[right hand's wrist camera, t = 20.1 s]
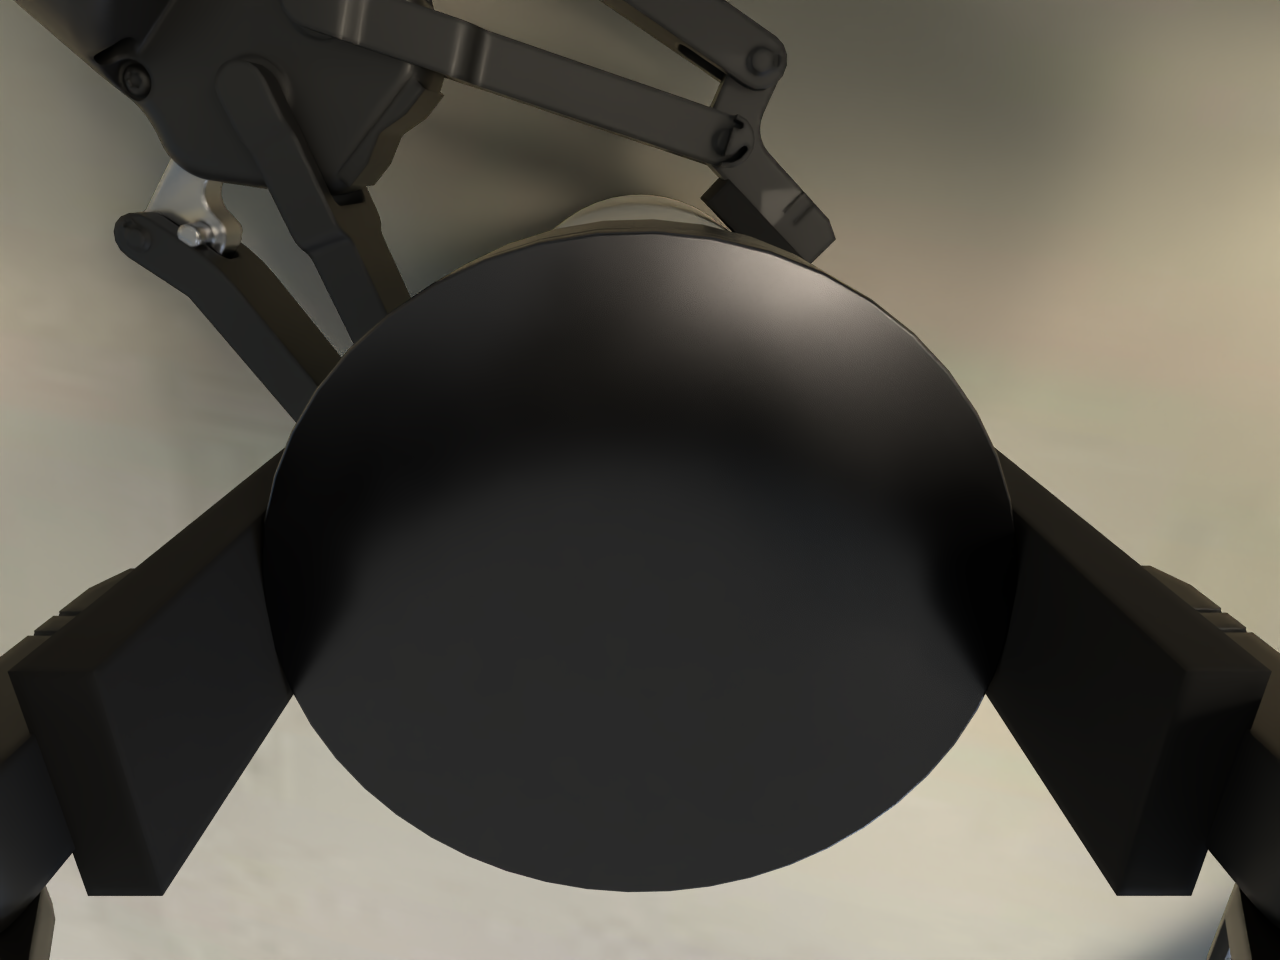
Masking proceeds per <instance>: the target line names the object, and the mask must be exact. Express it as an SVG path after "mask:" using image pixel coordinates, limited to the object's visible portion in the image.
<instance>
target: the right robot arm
mask: <svg viewBox="0 0 1280 960" xmlns="http://www.w3.org/2000/svg"><path fill="white" fill-rule="evenodd" d="M284 449H285V448H284ZM284 449H283V450H281V451H280V452H279V453H278V454H276V455H275V456H274V457H273V458H271V459H270V460H269V461H268V462H266V463H265V464H264V465H263V466H261V467H260V468H259V469H258V470H257V471H255V472H254V473H253V474H252V475H250V476H249V477H248V478H247V479H245V480H244V481H243V482H242V483H240V484H239V485H238V486H237V487H235V488H234V489H233V490H232V491H230V492H229V493H228V494H227V495H226V496H224V497H223V498H222V499H221V500H219V501H218V502H217V503H216V504H214V505H213V506H212V507H211V508H209V509H208V510H207V511H206V512H204V513H203V514H202V515H201V516H199V517H198V518H197V519H196V520H195V521H193V522H192V523H191V524H190V525H188V526H187V527H186V528H185V529H183V530H182V531H181V532H180V533H178V534H177V535H176V536H175V537H173V538H172V539H171V540H170V541H168V542H167V543H166V544H165V545H164V546H162V547H161V548H160V549H159V550H157V551H156V552H155V553H154V554H152V555H151V556H150V557H149V558H147V559H146V560H145V561H144V562H142V563H141V564H140V565H139V566H138V567H136V568H135V569H128V570H126V571H124V572H122V573H120V574H118V575H116V576H114V577H112V578H109V579H107V580H105V581H103V582H101V583H99V584H97V585H95V586H93V587H91V588H89V589H88V590H86V591H85V592H84V593H82V594H81V595H80V596H78V597H77V598H76V599H75V600H73V601H72V602H71V603H69V604H68V605H67V606H66V607H64V608H63V609H62V610H60V611H59V613H60V614H59V616H53V617H51V618H50V619H49V620H48V621H46V622H45V623H44V624H42V625H41V626H40V627H38V628H37V629H36V630H35V631H34V632H35V633H34V636H27V637H26V638H24V639H23V640H22V641H20V642H19V643H18V644H17V645H15V646H14V647H13V648H11V649H10V650H9V651H8V652H6V653H5V654H4V655H2V656H1V657H0V960H49V957H50V951H51V944H52V938H53V931H54V924H55V915H54V909H53V904H52V901H51V898H50V896H49V893H48V890H47V888H46V884H47V883H48V882H49V881H50V879H51V878H52V877H53V876H54V874H55V873H56V872H57V871H58V870H59V868H60V867H61V866H62V865H63V863H64V862H65V861H66V860H67V859H68V857H69V856H70V855H71V854H72V853H73V855H74V858H75V861H76V864H77V866H78V869H79V872H80V875H81V878H82V880H83V883H84V886H85V889H86V891H87V894H88V896H163V894H164V893H165V891H166V890H167V888H168V887H169V885H170V884H171V882H172V881H173V879H174V878H175V876H176V874H177V873H178V871H179V870H180V868H181V867H182V865H183V864H184V862H185V861H186V859H187V857H188V856H189V854H190V853H191V851H192V850H193V848H194V847H195V845H196V844H197V842H198V841H199V839H200V837H201V836H202V834H203V833H204V831H205V830H206V828H207V827H208V825H209V824H210V822H211V821H212V819H213V817H214V816H215V814H216V813H217V811H218V810H219V808H220V807H221V805H222V804H223V802H224V801H225V799H226V797H227V796H228V794H229V793H230V791H231V790H232V788H233V787H234V785H235V784H236V782H237V781H238V779H239V777H240V776H241V774H242V773H243V771H244V770H245V768H246V767H247V765H248V764H249V762H250V760H251V759H252V757H253V756H254V754H255V753H256V751H257V750H258V748H259V747H260V745H261V744H262V742H263V740H264V739H265V737H266V736H267V734H268V733H269V731H270V730H271V728H272V727H273V725H274V724H275V722H276V720H277V719H278V717H279V716H280V714H281V713H282V711H283V710H284V708H285V707H286V705H287V704H288V702H289V700H290V699H291V697H292V696H293V692H292V690H291V688H290V686H289V683H288V681H287V678H286V676H285V673H284V671H283V668H282V666H281V663H280V660H279V658H278V655H277V653H276V650H275V646H274V641H273V636H272V632H271V627H270V622H269V617H268V613H267V608H266V602H265V597H264V587H263V576H262V550H263V535H264V519H265V515H266V510H267V506H268V501H269V497H270V492H271V488H272V483H273V479H274V475H275V472H276V470H277V467H278V464H279V462H280V459H281V457H282V454H283V452H284ZM994 449H995V451H996V453H997V455H998V458H999V461H1000V465H1001V468H1002V471H1003V475H1004V478H1005V481H1006V485H1007V488H1008V492H1009V495H1010V498H1011V504H1012V511H1013V519H1014V526H1015V534H1016V541H1017V570H1016V593H1015V599H1014V605H1013V610H1012V615H1011V620H1010V625H1009V630H1008V635H1007V639H1006V642H1005V645H1004V648H1003V651H1002V655H1001V658H1000V661H999V664H998V667H997V670H996V673H995V675H994V677H993V679H992V681H991V683H990V685H989V687H988V689H987V691H986V695H987V697H988V698H989V700H990V701H991V703H992V704H993V706H994V707H995V709H996V710H997V712H998V713H999V715H1000V717H1001V718H1002V720H1003V721H1004V723H1005V724H1006V726H1007V727H1008V729H1009V730H1010V732H1011V734H1012V735H1013V737H1014V738H1015V740H1016V741H1017V743H1018V744H1019V746H1020V747H1021V749H1022V750H1023V752H1024V754H1025V755H1026V757H1027V758H1028V760H1029V761H1030V763H1031V764H1032V766H1033V767H1034V769H1035V770H1036V772H1037V774H1038V775H1039V777H1040V778H1041V780H1042V781H1043V783H1044V784H1045V786H1046V787H1047V789H1048V791H1049V792H1050V794H1051V795H1052V797H1053V798H1054V800H1055V801H1056V803H1057V804H1058V806H1059V807H1060V809H1061V811H1062V812H1063V814H1064V815H1065V817H1066V818H1067V820H1068V821H1069V823H1070V824H1071V826H1072V827H1073V829H1074V831H1075V832H1076V834H1077V835H1078V837H1079V838H1080V840H1081V841H1082V843H1083V844H1084V846H1085V847H1086V849H1087V851H1088V852H1089V854H1090V855H1091V857H1092V858H1093V860H1094V861H1095V863H1096V864H1097V866H1098V868H1099V869H1100V871H1101V872H1102V874H1103V875H1104V877H1105V878H1106V880H1107V881H1108V883H1109V884H1110V886H1111V888H1112V889H1113V891H1114V892H1115V894H1116V895H1117V896H1191V895H1192V892H1193V890H1194V887H1195V884H1196V881H1197V879H1198V876H1199V873H1200V870H1201V867H1202V865H1203V862H1204V859H1205V856H1206V853H1207V851H1208V850H1209V851H1210V852H1211V854H1212V855H1213V856H1214V857H1215V858H1216V860H1217V861H1218V862H1219V863H1220V864H1221V866H1222V867H1223V868H1224V869H1225V870H1226V872H1227V873H1228V874H1229V875H1230V877H1231V878H1232V879H1233V880H1234V881H1235V885H1234V888H1233V890H1232V893H1231V896H1230V898H1229V901H1228V903H1227V906H1226V909H1225V911H1224V914H1223V916H1222V919H1221V922H1220V924H1219V927H1218V929H1217V932H1216V935H1215V937H1214V940H1213V942H1212V945H1211V948H1210V950H1209V953H1208V955H1207V960H1227V959H1229V958H1231V960H1280V653H1278V652H1277V651H1276V650H1275V649H1273V648H1272V647H1271V646H1269V645H1268V644H1267V643H1265V642H1264V641H1263V640H1262V639H1260V638H1259V637H1258V636H1256V635H1255V634H1254V633H1247V632H1246V627H1245V626H1243V625H1242V624H1241V623H1239V622H1238V621H1237V620H1236V619H1234V618H1233V617H1232V616H1230V615H1229V614H1228V613H1221V608H1220V607H1219V606H1217V605H1216V604H1215V603H1213V602H1212V601H1211V600H1210V599H1208V598H1207V597H1206V596H1204V595H1203V594H1202V593H1200V592H1199V591H1198V590H1197V589H1195V588H1194V587H1193V586H1191V585H1189V584H1187V583H1185V582H1183V581H1181V580H1179V579H1177V578H1175V577H1173V576H1171V575H1168V574H1166V573H1164V572H1162V571H1160V570H1158V569H1156V568H1154V567H1152V566H1141V565H1139V564H1138V563H1137V562H1136V561H1135V560H1133V559H1132V558H1131V557H1130V556H1128V555H1127V554H1126V553H1125V552H1123V551H1122V550H1121V549H1120V548H1118V547H1117V546H1116V545H1115V544H1113V543H1112V542H1111V541H1110V540H1108V539H1107V538H1106V537H1105V536H1104V535H1102V534H1101V533H1100V532H1099V531H1097V530H1096V529H1095V528H1094V527H1092V526H1091V525H1090V524H1089V523H1087V522H1086V521H1085V520H1084V519H1082V518H1081V517H1080V516H1079V515H1077V514H1076V513H1075V512H1074V511H1073V510H1071V509H1070V508H1069V507H1068V506H1066V505H1065V504H1064V503H1063V502H1061V501H1060V500H1059V499H1058V498H1056V497H1055V496H1054V495H1053V494H1051V493H1050V492H1049V491H1048V490H1047V489H1045V488H1044V487H1043V486H1042V485H1040V484H1039V483H1038V482H1037V481H1035V480H1034V479H1033V478H1032V477H1030V476H1029V475H1028V474H1027V473H1025V472H1024V471H1023V470H1022V469H1020V468H1019V467H1018V466H1017V465H1016V464H1014V463H1013V462H1012V461H1011V460H1009V459H1008V458H1007V457H1006V456H1004V455H1003V454H1002V453H1001V452H999V451H998V450H997V449H996V448H994Z"/></svg>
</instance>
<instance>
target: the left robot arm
mask: <svg viewBox="0 0 1280 960" xmlns="http://www.w3.org/2000/svg"><path fill="white" fill-rule="evenodd" d="M14 1H15V2H16V3H17V4H18V5H20V6H21V7H22V8H23V9H24V10H25V11H27V12H28V13H29V14H30V15H31V16H32V17H33V18H35V19H36V20H37V21H38V22H39V23H40V24H42V25H43V26H44V27H45V28H46V29H47V30H49V31H50V32H51V33H52V34H53V35H54V36H55V37H57V38H58V39H59V40H60V41H61V42H62V43H64V44H65V45H66V46H67V47H68V48H69V49H71V50H72V51H73V52H74V53H75V54H76V55H77V56H79V57H80V58H81V59H82V60H83V61H84V62H86V63H87V64H88V65H89V66H90V67H91V68H93V69H94V70H95V71H96V72H97V73H98V74H100V75H101V76H102V77H103V78H105V79H106V80H107V81H108V82H110V83H111V84H112V85H113V86H115V87H116V88H117V89H119V90H120V91H121V92H122V93H124V94H125V95H126V96H128V97H129V98H130V99H131V100H132V101H134V102H135V103H136V104H137V105H138V106H139V107H140V108H141V110H142V111H143V112H144V114H145V115H146V116H147V118H148V119H149V121H150V122H151V124H152V125H153V127H154V129H155V131H156V132H157V135H158V137H159V139H160V141H161V143H162V145H163V147H164V149H165V150H166V152H167V153H168V155H169V156H170V157H171V159H170V161H169V163H168V165H167V167H166V170H165V172H164V174H163V176H162V178H161V180H160V182H159V184H158V186H157V188H156V190H155V192H154V194H153V196H152V198H151V200H150V202H149V204H148V206H147V208H146V210H145V211H144V212H136V213H128V214H126V215H123V216H121V217H120V218H119V220H118V221H117V222H116V224H115V228H114V236H115V241H116V243H117V245H118V246H119V248H120V250H121V251H122V252H123V253H124V254H125V255H127V256H128V257H129V258H130V259H132V260H133V261H135V262H137V263H138V264H140V265H141V266H143V267H144V268H146V269H147V270H149V271H150V272H152V273H153V274H155V275H156V276H158V277H159V278H161V279H162V280H164V281H166V282H167V283H169V284H170V285H172V286H173V287H175V288H176V289H178V290H179V291H181V292H182V293H184V294H185V295H187V296H188V297H189V298H190V299H191V300H192V301H193V302H194V304H195V305H196V306H197V307H198V308H199V309H200V311H201V312H202V313H203V314H204V315H205V316H206V318H207V319H208V320H209V321H210V322H211V323H212V325H213V326H214V327H215V328H216V329H217V330H218V332H219V333H220V334H221V335H222V336H223V337H224V339H225V340H226V341H227V342H228V343H229V344H230V346H231V347H232V348H233V349H234V350H235V351H236V353H237V354H238V355H239V356H240V357H241V359H242V360H243V361H244V362H245V363H246V364H247V366H248V367H249V368H250V369H251V370H252V371H253V373H254V374H255V375H256V376H257V377H258V378H259V380H260V381H261V382H262V383H263V384H264V385H265V387H266V388H267V389H268V390H269V391H270V392H271V394H272V395H273V396H274V397H275V398H276V399H277V401H278V402H279V403H280V404H281V405H282V406H283V408H284V409H285V410H286V411H287V412H288V413H289V415H290V416H291V417H292V418H293V419H294V421H295V422H296V423H297V421H298V419H299V418H300V416H301V414H302V412H303V411H304V409H305V407H306V406H307V404H308V402H309V401H310V399H311V397H312V395H313V394H314V392H315V390H316V389H317V387H318V386H319V385H320V384H321V382H322V381H323V380H324V379H325V378H326V376H327V375H328V374H329V373H330V371H331V370H332V369H333V368H334V367H335V365H336V364H337V363H338V362H339V360H340V359H341V356H340V355H339V354H338V353H337V351H336V350H335V349H334V348H333V346H332V345H331V344H330V343H329V341H328V340H327V339H326V338H325V337H324V335H323V334H322V333H321V332H320V330H319V329H318V328H317V327H316V325H315V324H314V323H313V322H312V320H311V319H310V318H309V317H308V315H307V314H306V313H305V312H304V310H303V309H302V308H301V307H300V305H299V304H298V303H297V302H296V301H295V299H294V298H293V297H292V296H291V294H290V293H289V292H288V291H287V289H286V288H285V287H284V286H283V284H282V283H281V282H280V281H279V279H278V278H277V277H276V276H275V275H274V273H273V272H272V271H271V270H270V269H269V268H268V267H267V266H266V264H265V263H264V262H263V261H262V260H261V259H260V258H259V257H257V256H256V255H255V254H254V253H253V252H252V251H251V250H250V249H249V248H247V247H246V246H245V245H243V244H242V243H241V239H242V232H243V230H242V226H241V224H240V223H239V221H237V219H236V218H235V217H234V216H233V215H232V214H231V213H230V212H229V211H228V209H227V208H226V206H225V204H224V203H223V199H222V196H221V188H222V185H223V182H224V183H231V184H238V185H245V186H251V187H258V188H265V189H269V191H270V193H271V195H272V197H273V199H274V201H275V203H276V205H277V207H278V209H279V211H280V213H281V215H282V217H283V219H284V221H285V223H286V225H287V227H288V229H289V231H290V233H291V235H292V237H293V239H294V241H295V242H296V244H297V245H298V246H299V247H300V248H301V249H302V250H303V251H304V252H306V253H307V254H308V255H309V256H310V257H311V259H312V260H313V262H314V264H315V266H316V268H317V270H318V272H319V274H320V276H321V278H322V280H323V282H324V284H325V286H326V289H327V291H328V293H329V295H330V297H331V299H332V301H333V303H334V305H335V307H336V309H337V311H338V313H339V315H340V317H341V319H342V321H343V323H344V325H345V327H346V329H347V331H348V333H349V335H350V337H351V339H352V341H353V343H354V344H355V343H356V342H357V341H358V340H359V339H360V338H361V337H363V336H364V335H365V334H366V333H367V332H368V331H369V330H370V329H371V328H373V327H374V326H375V325H376V324H377V323H378V322H379V321H380V320H381V319H382V318H384V317H385V316H386V315H387V314H388V313H390V312H391V311H393V310H394V309H395V308H397V307H398V306H400V305H401V304H403V303H404V302H406V301H407V300H409V299H410V298H411V297H410V295H409V293H408V291H407V288H406V286H405V284H404V282H403V280H402V277H401V275H400V273H399V271H398V269H397V266H396V264H395V262H394V260H393V258H392V255H391V253H390V251H389V249H388V247H387V244H386V242H385V240H384V238H383V235H382V232H381V221H380V217H379V214H378V212H377V209H376V207H375V205H374V203H373V200H372V198H371V196H370V194H369V192H368V189H367V187H366V186H370V185H375V183H376V182H377V181H378V179H379V178H380V177H381V176H382V174H383V173H384V172H385V171H386V169H387V168H388V167H389V165H390V164H391V162H392V159H393V157H394V154H395V152H396V149H397V147H398V144H399V142H400V139H401V137H402V136H403V135H404V134H405V133H406V132H408V131H409V130H410V129H412V128H413V127H415V126H416V125H417V124H419V123H420V122H422V121H423V120H425V119H426V118H427V117H428V116H429V114H430V113H431V112H432V110H433V109H434V108H435V107H436V105H437V104H438V103H439V101H440V100H441V99H442V98H443V96H444V95H443V94H442V93H441V92H440V90H441V87H442V84H443V80H444V77H445V78H448V79H451V80H454V81H457V82H460V83H463V84H466V85H469V86H472V87H475V88H478V89H481V90H484V91H487V92H491V93H494V94H497V95H500V96H503V97H506V98H509V99H512V100H515V101H518V102H521V103H524V104H527V105H530V106H533V107H536V108H538V109H541V110H544V111H547V112H550V113H553V114H556V115H559V116H562V117H565V118H568V119H571V120H574V121H577V122H580V123H583V124H586V125H589V126H592V127H595V128H598V129H601V130H604V131H607V132H610V133H613V134H616V135H619V136H622V137H625V138H628V139H631V140H634V141H637V142H640V143H643V144H646V145H649V146H652V147H655V148H658V149H661V150H664V151H667V152H670V153H673V154H676V155H678V156H681V157H684V158H687V159H690V160H693V161H696V162H699V163H702V164H705V165H708V167H709V168H710V169H711V170H712V171H713V172H714V173H715V174H716V175H717V176H718V177H719V178H718V179H717V181H716V182H715V183H714V184H713V185H712V186H711V187H710V188H709V189H708V190H707V191H706V192H705V193H704V194H703V196H702V197H701V200H702V201H703V202H704V203H705V204H706V205H707V206H708V207H709V208H710V209H711V210H712V211H713V212H714V213H715V214H716V215H717V216H718V217H719V218H720V219H721V220H722V222H723V223H724V224H725V225H726V226H727V227H728V228H729V229H730V230H731V231H732V232H735V233H739V234H743V235H747V236H751V237H753V238H756V239H758V240H760V241H763V242H765V243H768V244H770V245H773V246H775V247H778V248H780V249H783V250H785V251H788V252H790V253H793V254H795V255H797V256H798V257H800V258H802V259H804V260H805V261H807V262H809V263H812V262H813V261H814V260H815V259H816V258H817V257H818V256H819V255H820V254H821V253H822V252H823V251H824V250H825V249H826V248H827V247H828V246H829V245H830V244H831V243H832V242H833V241H834V240H835V236H834V233H833V230H832V227H831V224H830V221H829V219H828V218H827V217H826V216H825V215H824V214H823V212H822V211H821V210H820V209H819V208H818V207H817V206H816V205H815V204H814V203H813V201H812V200H811V199H810V198H809V197H808V196H807V195H806V194H805V193H804V192H803V191H802V189H801V188H800V187H799V186H798V185H797V184H796V183H795V182H794V180H793V179H792V178H791V177H790V176H789V175H788V174H787V173H786V172H785V170H784V169H783V168H782V167H781V166H780V165H779V164H778V163H777V162H776V161H775V159H774V158H773V157H772V156H771V155H770V154H769V153H768V151H767V150H766V149H765V147H764V145H763V143H762V140H761V135H760V123H761V119H762V116H763V113H764V111H765V109H766V106H767V104H768V102H769V100H770V98H771V95H772V93H773V91H774V89H775V87H776V84H777V82H778V81H779V80H780V78H781V77H782V76H783V74H784V71H785V68H786V66H787V54H786V51H785V48H784V45H783V44H782V42H781V41H780V40H779V39H778V38H777V37H776V36H775V35H773V34H772V33H770V32H769V31H767V30H766V29H765V28H763V27H762V26H760V25H759V24H758V23H756V22H755V21H753V20H752V19H751V18H749V17H748V16H746V15H745V14H743V13H742V12H741V11H739V10H738V9H736V8H735V7H734V6H732V5H731V4H729V3H728V2H727V1H725V0H600V1H601V2H603V3H604V4H606V5H607V6H609V7H610V8H612V9H613V10H615V11H616V12H618V13H619V14H620V15H622V16H623V17H625V18H626V19H628V20H629V21H631V22H632V23H634V24H635V25H637V26H638V27H639V28H641V29H642V30H644V31H645V32H647V33H648V34H650V35H651V36H653V37H654V38H656V39H657V40H659V41H660V42H661V43H663V44H664V45H666V46H667V47H669V48H670V49H672V50H673V51H675V52H676V53H678V54H679V55H680V56H682V57H683V58H685V59H686V60H688V61H689V62H691V63H692V64H694V65H695V66H697V67H698V68H699V69H701V70H702V71H704V72H705V73H707V74H708V75H710V76H711V77H713V78H714V79H716V80H717V81H718V82H720V85H719V87H718V90H717V92H716V94H715V97H714V99H713V101H712V104H711V106H710V107H708V106H705V105H702V104H699V103H696V102H693V101H690V100H688V99H685V98H682V97H679V96H676V95H673V94H670V93H667V92H664V91H661V90H659V89H656V88H653V87H650V86H647V85H644V84H641V83H638V82H635V81H632V80H629V79H627V78H624V77H621V76H618V75H615V74H612V73H609V72H606V71H603V70H600V69H598V68H595V67H592V66H589V65H586V64H583V63H580V62H577V61H574V60H571V59H568V58H566V57H563V56H560V55H557V54H554V53H551V52H548V51H545V50H542V49H539V48H537V47H534V46H531V45H528V44H525V43H522V42H519V41H516V40H513V39H510V38H508V37H505V36H502V35H499V34H496V33H493V32H490V31H488V30H485V29H483V28H480V27H478V26H476V25H474V24H471V23H469V22H466V21H464V20H461V19H458V18H455V17H452V16H450V15H447V14H444V13H441V12H438V11H435V10H434V8H433V4H432V0H14Z"/></svg>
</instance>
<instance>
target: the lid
mask: <svg viewBox="0 0 1280 960" xmlns="http://www.w3.org/2000/svg"><path fill="white" fill-rule="evenodd" d="M1016 570H1017V541H1016V534H1015V526H1014V519H1013V511H1012V504H1011V498H1010V495H1009V492H1008V488H1007V485H1006V481H1005V478H1004V475H1003V471H1002V468H1001V465H1000V461H999V458H998V455H997V453H996V451H995V449H994V446H993V444H992V442H991V440H990V438H989V436H988V434H987V432H986V430H985V427H984V425H983V423H982V421H981V419H980V417H979V415H978V413H977V411H976V410H975V408H974V407H973V405H972V404H971V402H970V401H969V399H968V398H967V396H966V395H965V393H964V392H963V391H962V389H961V388H960V386H959V385H958V383H957V382H956V380H955V379H954V377H953V376H952V374H951V373H950V371H949V370H948V369H947V368H946V367H945V366H944V365H943V364H942V363H941V362H940V361H939V360H938V358H937V357H936V356H935V355H934V354H933V353H932V352H931V351H930V350H929V349H928V348H927V347H926V346H925V345H924V343H923V342H922V341H921V340H920V339H919V338H918V337H917V336H916V335H915V334H914V333H913V332H912V331H911V330H909V329H908V328H907V327H906V326H904V325H903V324H902V323H901V322H899V321H898V320H897V319H895V318H894V317H893V316H892V315H890V314H889V313H888V312H887V311H885V310H884V309H883V308H882V307H880V306H879V305H878V304H877V303H875V302H874V301H873V300H872V299H870V298H868V297H866V296H865V295H863V294H861V293H860V292H858V291H856V290H855V289H853V288H851V287H850V286H848V285H846V284H845V283H843V282H841V281H840V280H838V279H836V278H835V277H833V276H831V275H829V274H828V273H826V272H824V271H823V270H821V269H819V268H817V267H816V266H814V265H812V264H811V263H809V262H807V261H805V260H804V259H802V258H800V257H798V256H797V255H795V254H793V253H790V252H788V251H785V250H783V249H780V248H778V247H775V246H773V245H770V244H768V243H765V242H763V241H760V240H758V239H756V238H753V237H751V236H747V235H743V234H739V233H735V232H731V231H727V230H723V229H719V228H715V227H711V226H707V225H703V224H694V223H684V222H675V221H666V220H657V219H642V220H609V221H599V222H593V223H587V224H581V225H575V226H569V227H563V228H558V229H553V230H550V231H547V232H544V233H541V234H537V235H534V236H531V237H528V238H525V239H522V240H518V241H515V242H512V243H509V244H507V245H505V246H503V247H501V248H498V249H496V250H494V251H492V252H490V253H488V254H486V255H484V256H482V257H480V258H478V259H475V260H473V261H471V262H469V263H467V264H465V265H463V266H462V267H460V268H458V269H457V270H455V271H453V272H452V273H450V274H448V275H446V276H445V277H443V278H441V279H440V280H438V281H436V282H434V283H433V284H431V285H430V286H428V287H427V288H425V289H424V290H422V291H421V292H419V293H418V294H416V295H415V296H413V297H412V298H410V299H409V300H407V301H406V302H404V303H403V304H401V305H400V306H398V307H397V308H395V309H394V310H393V311H391V312H390V313H388V314H387V315H386V316H385V317H384V318H382V319H381V320H380V321H379V322H378V323H377V324H376V325H375V326H374V327H373V328H371V329H370V330H369V331H368V332H367V333H366V334H365V335H364V336H363V337H361V338H360V339H359V340H358V341H357V342H356V343H355V344H354V345H353V346H352V347H350V348H349V349H348V351H347V352H346V353H345V354H344V355H343V357H342V358H341V359H340V360H339V362H338V363H337V364H336V365H335V367H334V368H333V369H332V370H331V371H330V373H329V374H328V375H327V376H326V378H325V379H324V380H323V381H322V382H321V384H320V385H319V386H318V387H317V389H316V390H315V392H314V394H313V395H312V397H311V399H310V401H309V402H308V404H307V406H306V407H305V409H304V411H303V412H302V414H301V416H300V418H299V419H298V421H297V423H296V424H295V426H294V428H293V430H292V431H291V434H290V437H289V439H288V442H287V444H286V447H285V449H284V452H283V454H282V457H281V459H280V462H279V464H278V467H277V470H276V472H275V475H274V479H273V483H272V488H271V492H270V497H269V501H268V506H267V510H266V515H265V519H264V535H263V550H262V576H263V587H264V597H265V602H266V608H267V613H268V617H269V622H270V627H271V632H272V636H273V641H274V646H275V650H276V653H277V655H278V658H279V660H280V663H281V666H282V668H283V671H284V673H285V676H286V678H287V681H288V683H289V686H290V688H291V690H292V692H293V694H294V696H295V697H296V699H297V701H298V703H299V704H300V706H301V708H302V710H303V712H304V713H305V715H306V717H307V719H308V721H309V722H310V724H311V726H312V727H313V728H314V730H315V731H316V732H317V734H318V735H319V736H320V738H321V739H322V740H323V742H324V743H325V744H326V746H327V747H328V748H329V750H330V751H331V753H332V754H333V755H334V757H335V758H336V759H337V760H338V761H339V762H340V763H341V764H342V765H343V766H344V767H345V768H346V769H347V771H348V772H349V773H350V774H351V775H352V776H353V777H354V778H355V779H356V780H357V781H358V782H359V783H360V784H361V785H362V786H363V787H364V788H365V789H366V790H367V791H368V792H370V793H371V794H372V795H373V796H374V797H376V798H377V799H378V800H379V801H380V802H382V803H383V804H384V805H385V806H387V807H388V808H389V809H390V810H391V811H393V812H394V813H395V814H396V815H398V816H399V817H401V818H402V819H404V820H405V821H407V822H408V823H410V824H411V825H413V826H415V827H416V828H418V829H419V830H421V831H422V832H424V833H425V834H427V835H428V836H430V837H431V838H433V839H435V840H437V841H439V842H441V843H443V844H445V845H447V846H449V847H451V848H453V849H455V850H457V851H459V852H461V853H463V854H465V855H467V856H469V857H472V858H474V859H477V860H479V861H482V862H485V863H487V864H490V865H492V866H495V867H497V868H500V869H503V870H505V871H508V872H512V873H516V874H519V875H523V876H527V877H530V878H534V879H537V880H541V881H545V882H550V883H555V884H561V885H567V886H573V887H578V888H584V889H594V890H608V891H621V892H653V891H675V890H684V889H692V888H701V887H709V886H714V885H719V884H724V883H728V882H733V881H737V880H742V879H747V878H751V877H754V876H757V875H760V874H763V873H767V872H770V871H773V870H776V869H779V868H782V867H785V866H788V865H791V864H793V863H796V862H798V861H800V860H802V859H805V858H807V857H809V856H811V855H814V854H816V853H818V852H821V851H823V850H825V849H827V848H829V847H831V846H833V845H835V844H836V843H838V842H840V841H842V840H843V839H845V838H847V837H849V836H850V835H852V834H854V833H856V832H857V831H859V830H861V829H863V828H864V827H866V826H867V825H868V824H870V823H871V822H872V821H874V820H875V819H877V818H878V817H879V816H881V815H882V814H883V813H885V812H886V811H888V810H889V809H890V808H892V807H893V806H895V805H896V804H897V803H898V802H899V801H901V800H902V799H903V798H904V797H905V796H906V795H907V794H908V793H909V792H910V791H911V790H913V789H914V788H915V787H916V786H917V785H918V784H919V783H920V782H921V781H922V780H923V779H925V778H926V777H927V776H928V775H929V774H930V772H931V771H932V770H933V769H934V768H935V767H936V765H937V764H938V763H939V762H940V761H941V760H942V758H943V757H944V756H945V755H946V754H947V753H948V751H949V750H950V749H951V748H952V747H953V746H954V744H955V743H956V741H957V740H958V738H959V737H960V735H961V734H962V732H963V731H964V729H965V728H966V726H967V725H968V723H969V722H970V720H971V719H972V717H973V716H974V714H975V713H976V711H977V710H978V708H979V706H980V704H981V701H982V699H983V697H984V695H985V693H986V691H987V689H988V687H989V685H990V683H991V681H992V679H993V677H994V675H995V673H996V670H997V667H998V664H999V661H1000V658H1001V655H1002V651H1003V648H1004V645H1005V642H1006V639H1007V635H1008V630H1009V625H1010V620H1011V615H1012V610H1013V605H1014V599H1015V593H1016Z"/></svg>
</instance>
